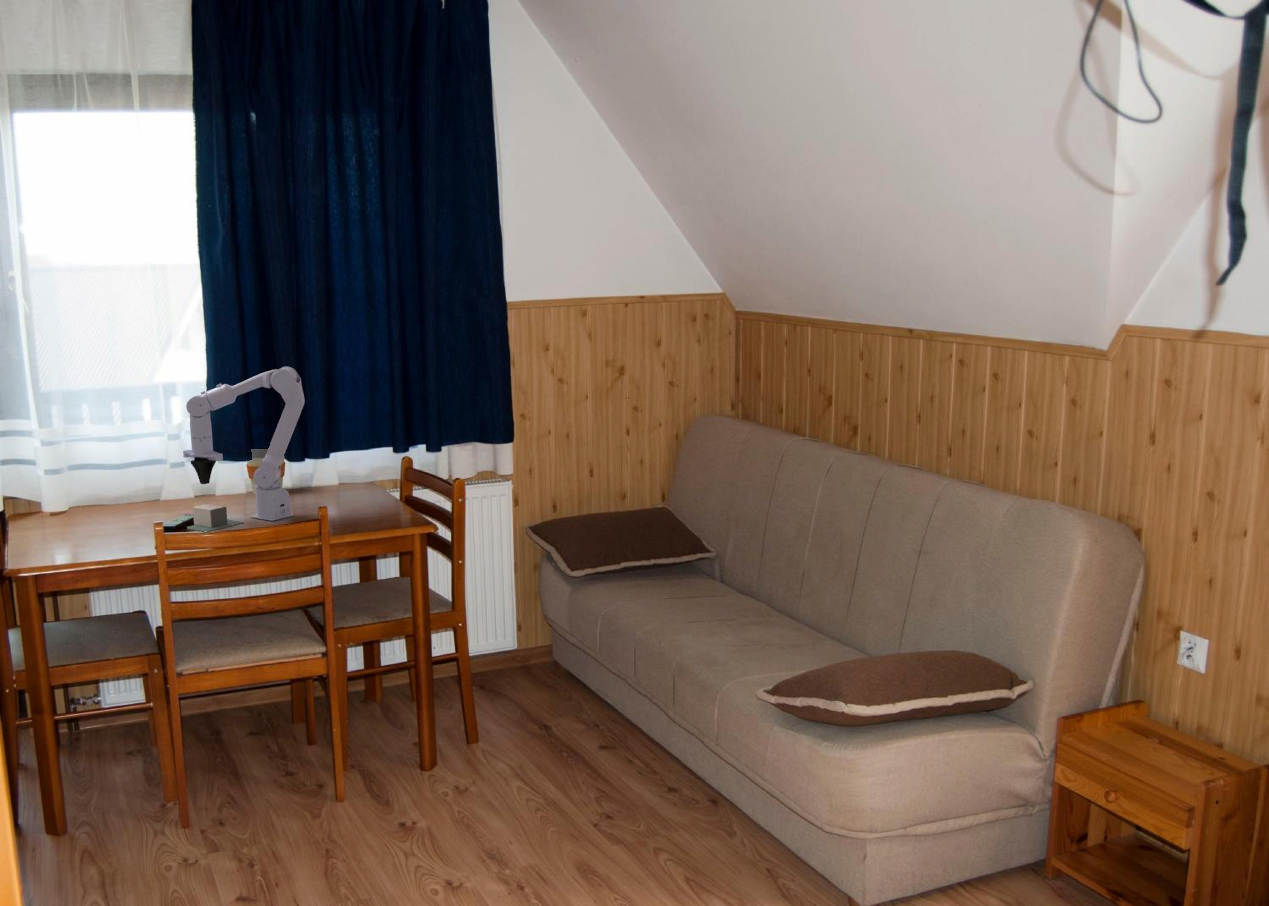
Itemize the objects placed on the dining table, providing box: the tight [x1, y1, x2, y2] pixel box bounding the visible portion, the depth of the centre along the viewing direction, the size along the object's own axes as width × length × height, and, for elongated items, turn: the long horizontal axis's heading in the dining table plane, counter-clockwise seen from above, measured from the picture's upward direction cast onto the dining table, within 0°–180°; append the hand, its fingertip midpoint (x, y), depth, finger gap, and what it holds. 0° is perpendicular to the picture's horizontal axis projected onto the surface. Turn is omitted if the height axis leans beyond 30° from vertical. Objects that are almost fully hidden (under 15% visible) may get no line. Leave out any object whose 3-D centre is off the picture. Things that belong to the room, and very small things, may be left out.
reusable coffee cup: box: [246, 449, 286, 495], centre depth 374 cm, size 13×13×15 cm
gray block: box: [192, 503, 228, 528], centre depth 328 cm, size 5×5×8 cm
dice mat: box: [186, 518, 245, 532], centre depth 327 cm, size 9×13×1 cm
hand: (204, 483), depth 335 cm, fingers closed
